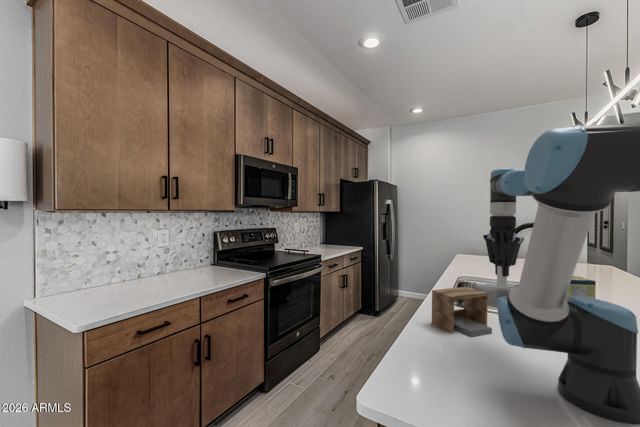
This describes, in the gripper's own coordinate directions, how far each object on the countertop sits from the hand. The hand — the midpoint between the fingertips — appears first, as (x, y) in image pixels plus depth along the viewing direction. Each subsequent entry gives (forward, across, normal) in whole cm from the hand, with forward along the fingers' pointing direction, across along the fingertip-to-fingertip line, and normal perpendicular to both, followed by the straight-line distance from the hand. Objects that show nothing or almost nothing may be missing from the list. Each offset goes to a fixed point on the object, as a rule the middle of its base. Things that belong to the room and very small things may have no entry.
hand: (501, 285), depth 99 cm
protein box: (+20, +13, -63) cm, 67 cm away
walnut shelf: (+19, +17, 0) cm, 26 cm away
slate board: (+20, +14, 0) cm, 24 cm away
